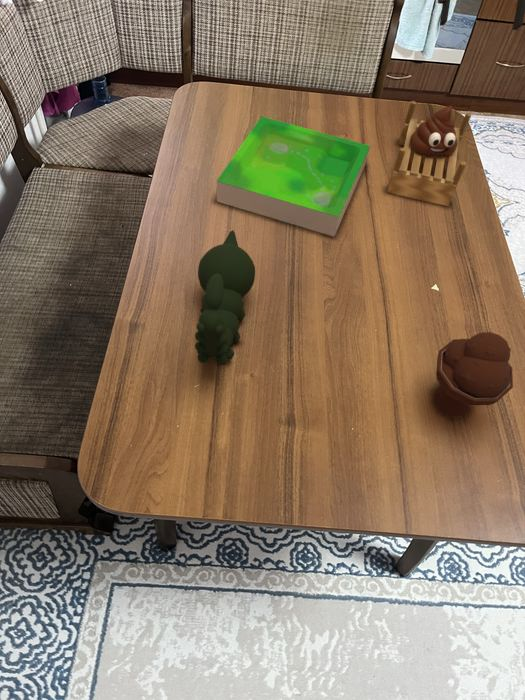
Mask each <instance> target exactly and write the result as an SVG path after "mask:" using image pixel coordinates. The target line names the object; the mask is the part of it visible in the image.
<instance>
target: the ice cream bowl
mask: <svg viewBox="0 0 525 700" xmlns="http://www.w3.org/2000/svg"><path fill="white" fill-rule="evenodd" d="M511 349H512V348H511V347H510V346H509V343H508V341H507V340H506V338H504V337H503V336H501V335H500V334H498V333H493V332H491V331H486V332H485V331H484V332H483V331H482V332H479V333H476V334H475V335H473V336H471V337H470V338H456V339H455V338H453V339H452V340H451V341H450V342H448V343H447V344H446V345H444V346H443V347H442V348H441V349H439V350H438V353H437V359H436V372H435V373H436V376H435V377H436V380H437V382H438V383H439V385H440V386H441V388H440V389H439V390H437V391H436V392H435V397H434V403H435V404H436V406H437V407H438V409H439V411H440V412H442V413H444V414H445V415H448V416H450V417H455V418H456V417H463V416H465V414H467V413H468V412H469V410H470V407H473V406H475V407H477V406H478V407H479V406H492V405H494V404H497V402H499V401H501V399H502V398H503V397H505V396H506V395H507V394H508V393H509V392H510V391H512V389H513V388H514V380H513V379H514V378H513V377H514V376H513V367H512V366H511V364H510V363H509V361H510V359H511V351H512V350H511Z"/></svg>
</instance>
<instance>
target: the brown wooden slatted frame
mask: <svg viewBox="0 0 525 700" xmlns="http://www.w3.org/2000/svg"><path fill="white" fill-rule="evenodd" d="M416 105H417V102H416V101H415V100H411V101H410V103H409V107H408V110H407V113H406V117H405V119H404V124H403V126H402V130H401V132H400V136H399V140H398V145H399V146H403V147H400V148H399V151H398V154H397V157H396V160H395V163H394V167H393V170H392V173H391V175H390V180H389V183H388V185H387V189H386V193H387V194H393V195H397V196H401V197H405V198H409V199H415V200H419V201H423V202H428V203H430V204H431V203H432V204H435V205H440V206H445V207H449V205H450V203H451V201H452V198H453V196H454V194H455V191H456V189H457V187H458V184H459V182H460V180H461V177H462V175H463V172H464V170H465V168H466V165H467V162H466V161H464V160H462V161H460V162H459V164H458V166H457V167H456V165H457V160H458V159H457V158H458V149H459V147H460V144H461V142H462V139H463V136H464V134H465V132H466V129H467V127H468V125H469V122H470V119H471V117H472V113H471V112H466V113H465V114H464V117H463V120H462V122H461V125H460V127H455V128H454V129H455V131H456V138H457V148H456V150H455V151H454V152H453V153H452V154H450V155H448V156H447V163H446V171H445V176H444V177H445V178H443V174H444V168H445V167H444V166H445V162H446V161H445V160H446V156H439V155H436V158H435V164H434V170H433V175H431V173H432V168H433V162H434V156H425V155H424V159H423V165H422V171H421V172H422V173H421V172H420V166H421V162H422V156H423V155H421V154H419V153H417V152H415V151H414V150H413V157H412V160H411V161H412V162H411V166H410V170H408V167H409V161H410V158H411V152H412V147H411V145H410V138H411V135H412V134H413V133H414V132H415V131H416V130H417V129H418V127H419V125H420V124H421V123H422V122H426V120H420V123H419V122H418V119H417V118H413V115H414V113H415V108H416ZM456 168H457V169H456Z"/></svg>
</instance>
